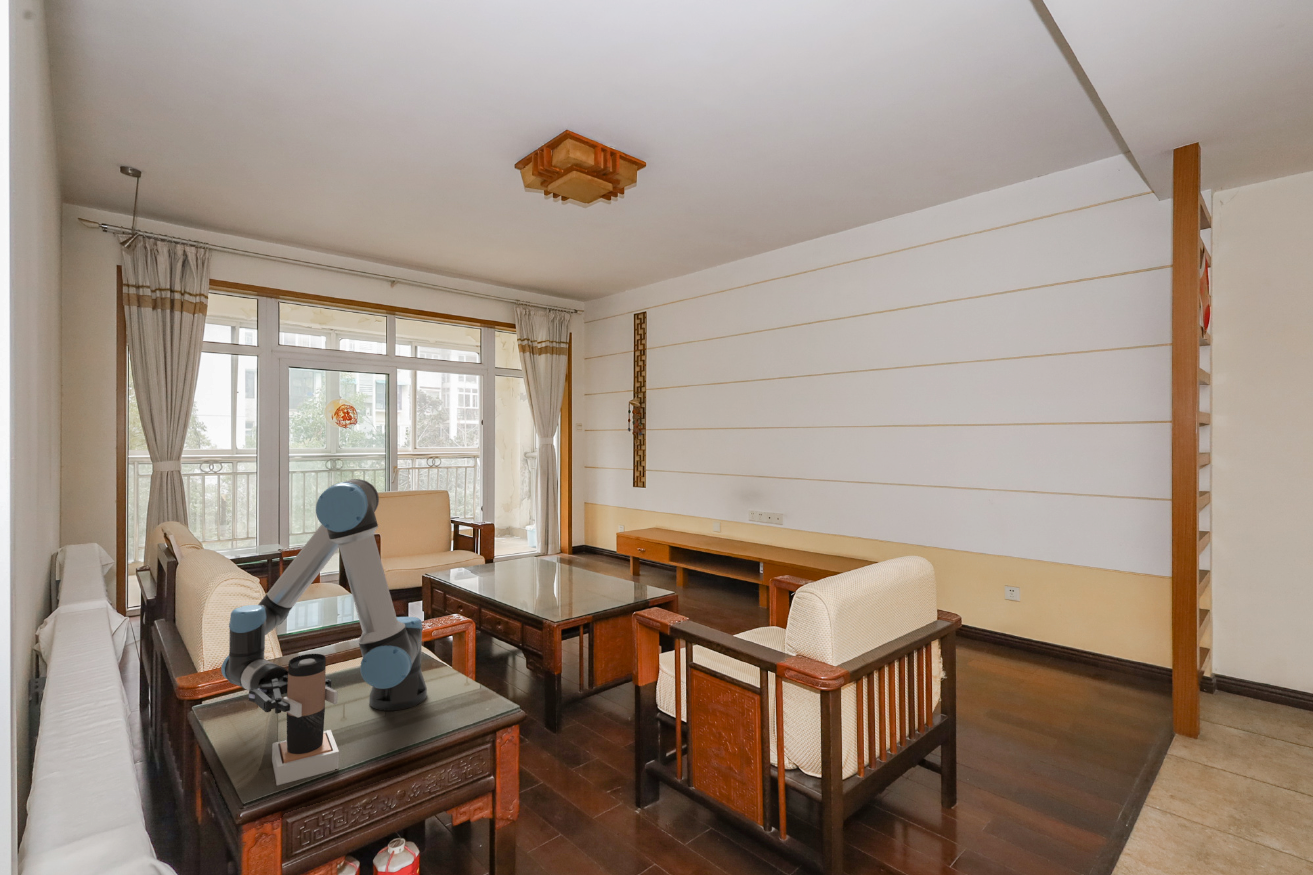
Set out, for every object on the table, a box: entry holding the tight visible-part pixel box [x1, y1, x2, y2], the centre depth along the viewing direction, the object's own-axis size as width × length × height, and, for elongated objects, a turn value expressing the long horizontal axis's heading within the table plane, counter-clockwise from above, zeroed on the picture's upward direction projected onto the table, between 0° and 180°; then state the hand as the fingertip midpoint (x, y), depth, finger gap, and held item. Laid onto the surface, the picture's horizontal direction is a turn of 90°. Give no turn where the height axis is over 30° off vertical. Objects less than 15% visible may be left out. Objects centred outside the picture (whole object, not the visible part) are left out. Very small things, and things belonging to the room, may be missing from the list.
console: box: [271, 729, 340, 786], centre depth 142 cm, size 12×12×4 cm
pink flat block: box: [280, 733, 331, 764], centre depth 142 cm, size 9×9×3 cm
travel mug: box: [286, 653, 327, 754], centre depth 141 cm, size 8×8×20 cm
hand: (318, 704), depth 139 cm, fingers closed on travel mug, 7 cm apart
